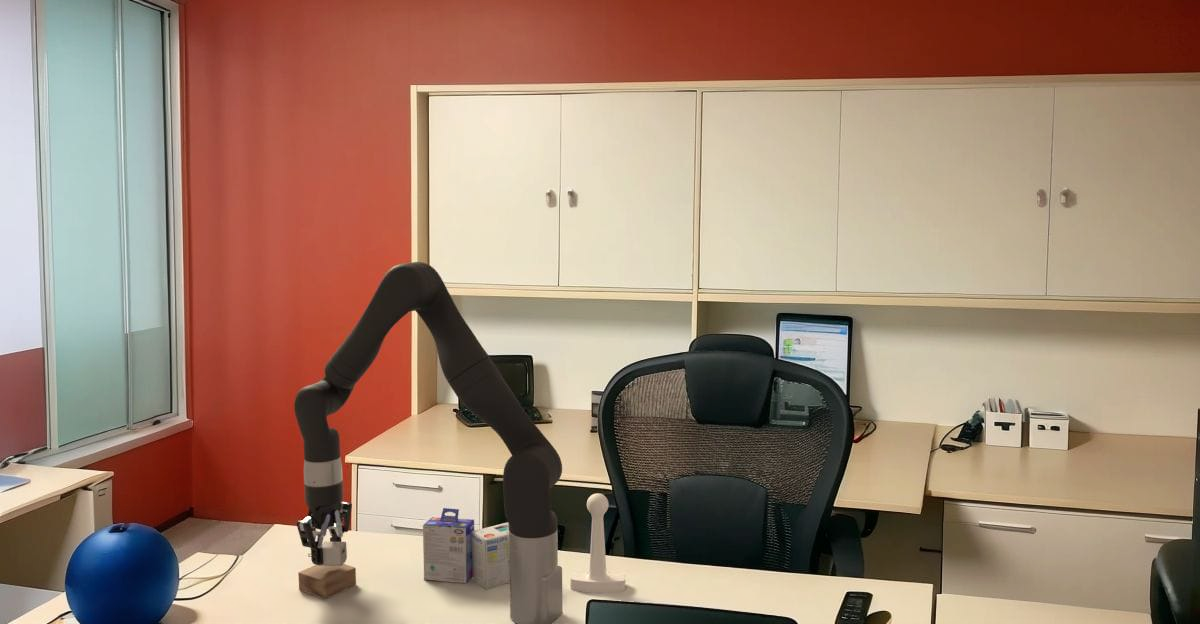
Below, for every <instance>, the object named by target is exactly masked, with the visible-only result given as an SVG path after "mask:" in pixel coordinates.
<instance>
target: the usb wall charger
mask: <svg viewBox="0 0 1200 624" xmlns="http://www.w3.org/2000/svg"><path fill="white" fill-rule="evenodd" d="M322 547H323V564H322V565H320V566H342V565H343V564H345V562H346V561H347V558H348V551H347V541H341V542H330V541H323V543H322ZM307 555H308V558H311V553H308V554H307Z"/></svg>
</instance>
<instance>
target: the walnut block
mask: <svg viewBox="0 0 1200 624" xmlns="http://www.w3.org/2000/svg"><path fill="white" fill-rule="evenodd" d="M356 569H357V568H356V567H355V566H352V565H347V564H345V563H343V565H342V566H320V565H315V564H314V565H313V566H310V567H308V568H305V569H303V570H301V571H299V572H298V574H297V575H298V590H299V591H302V592H305V593H307V594H310V595H314V596H316V597H318V598H319V597H320V598H322V599H325V600H326V599H329V598H331V597H333V596H336V595H338V594H339V593H341V592H344V591H346V590H348V589H350V588H353V587H354V586H356V585H357V571H356Z"/></svg>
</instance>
